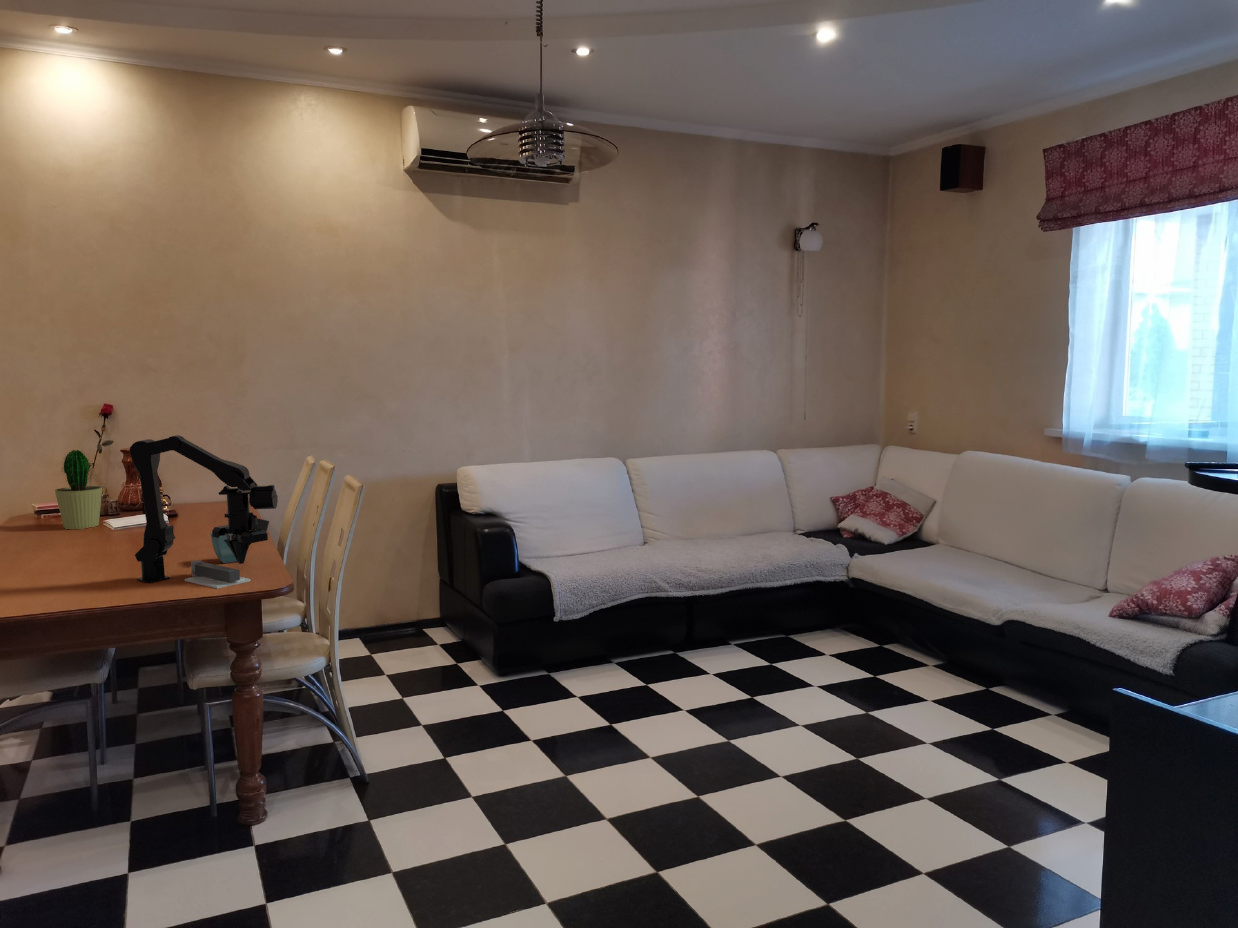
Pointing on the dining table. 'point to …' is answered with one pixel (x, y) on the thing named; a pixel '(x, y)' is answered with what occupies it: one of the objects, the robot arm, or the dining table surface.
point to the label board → (214, 581)
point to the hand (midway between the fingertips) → (241, 563)
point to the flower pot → (222, 549)
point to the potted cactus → (78, 494)
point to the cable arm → (215, 571)
